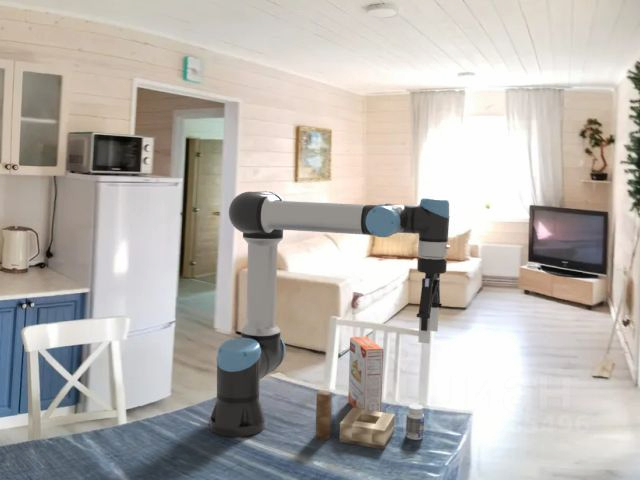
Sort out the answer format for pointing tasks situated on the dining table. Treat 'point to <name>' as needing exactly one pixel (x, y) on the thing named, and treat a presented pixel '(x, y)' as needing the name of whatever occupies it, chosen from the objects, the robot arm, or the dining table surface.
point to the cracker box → (365, 374)
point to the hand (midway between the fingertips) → (428, 336)
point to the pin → (323, 415)
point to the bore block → (367, 428)
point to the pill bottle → (415, 422)
